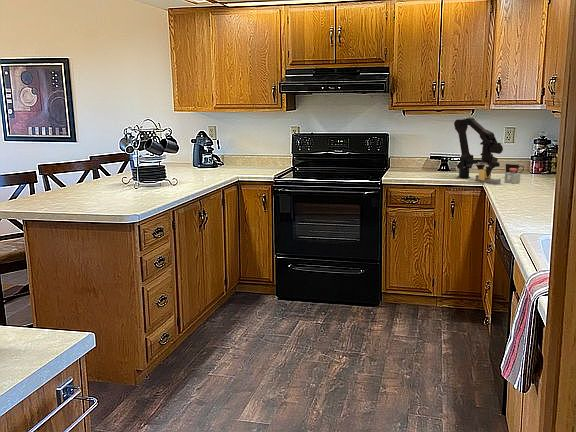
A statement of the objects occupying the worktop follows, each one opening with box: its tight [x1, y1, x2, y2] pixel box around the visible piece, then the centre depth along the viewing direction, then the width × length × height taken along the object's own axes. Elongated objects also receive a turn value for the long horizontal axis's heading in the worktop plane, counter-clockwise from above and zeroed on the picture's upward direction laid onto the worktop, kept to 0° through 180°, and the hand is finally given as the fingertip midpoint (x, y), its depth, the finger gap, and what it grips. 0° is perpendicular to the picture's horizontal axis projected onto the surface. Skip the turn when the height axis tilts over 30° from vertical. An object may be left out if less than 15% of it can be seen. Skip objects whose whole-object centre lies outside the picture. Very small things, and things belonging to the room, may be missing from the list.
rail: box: [475, 174, 502, 185], centre depth 380 cm, size 19×3×3 cm, turn 26°
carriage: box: [478, 168, 492, 180], centre depth 382 cm, size 5×6×6 cm
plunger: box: [510, 168, 517, 174], centre depth 379 cm, size 4×4×6 cm
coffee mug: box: [505, 162, 525, 174], centre depth 396 cm, size 12×9×10 cm
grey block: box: [504, 172, 521, 184], centre depth 380 cm, size 7×6×6 cm
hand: (484, 176), depth 383 cm, fingers closed on carriage, 5 cm apart
